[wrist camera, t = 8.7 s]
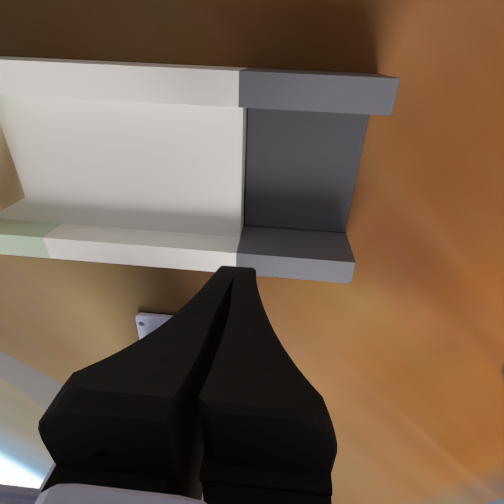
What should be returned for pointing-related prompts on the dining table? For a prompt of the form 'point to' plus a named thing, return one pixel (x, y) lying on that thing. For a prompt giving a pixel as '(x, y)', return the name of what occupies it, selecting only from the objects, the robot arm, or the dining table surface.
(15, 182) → the maple block
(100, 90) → the trap box
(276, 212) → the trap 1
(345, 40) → the dining table surface
